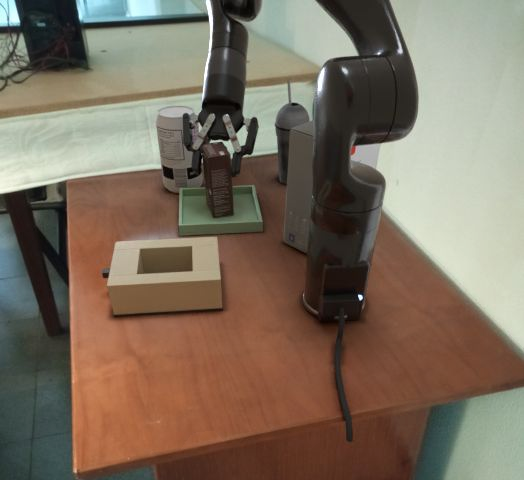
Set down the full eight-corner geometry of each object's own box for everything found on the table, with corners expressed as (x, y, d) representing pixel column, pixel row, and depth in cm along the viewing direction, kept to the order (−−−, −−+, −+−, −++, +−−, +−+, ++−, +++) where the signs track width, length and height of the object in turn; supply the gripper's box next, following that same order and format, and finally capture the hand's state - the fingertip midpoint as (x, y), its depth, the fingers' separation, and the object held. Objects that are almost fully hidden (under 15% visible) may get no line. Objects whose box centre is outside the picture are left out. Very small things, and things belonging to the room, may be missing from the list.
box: (204, 205, 97) (200, 143, 89) (227, 202, 98) (224, 140, 90) (211, 219, 93) (207, 156, 85) (234, 216, 94) (232, 153, 86)
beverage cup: (303, 188, 105) (311, 85, 91) (270, 185, 106) (272, 82, 92) (308, 174, 110) (316, 74, 96) (276, 171, 111) (279, 72, 97)
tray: (262, 231, 91) (262, 221, 90) (179, 235, 90) (178, 225, 89) (254, 194, 102) (254, 185, 101) (180, 197, 101) (179, 188, 100)
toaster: (223, 309, 74) (221, 279, 70) (103, 317, 73) (94, 286, 69) (219, 265, 83) (217, 236, 79) (112, 270, 82) (105, 241, 78)
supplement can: (159, 182, 106) (149, 107, 96) (195, 175, 109) (189, 102, 99) (170, 197, 101) (160, 120, 91) (208, 190, 104) (203, 115, 93)
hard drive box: (314, 259, 85) (326, 141, 71) (281, 243, 88) (286, 127, 75) (367, 227, 93) (386, 115, 79) (335, 213, 97) (348, 104, 83)
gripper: (181, 69, 87) (171, 163, 86) (262, 73, 85) (252, 168, 85) (190, 93, 94) (181, 179, 94) (265, 96, 93) (256, 185, 92)
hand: (215, 174), depth 89 cm, fingers closed on box, 6 cm apart
